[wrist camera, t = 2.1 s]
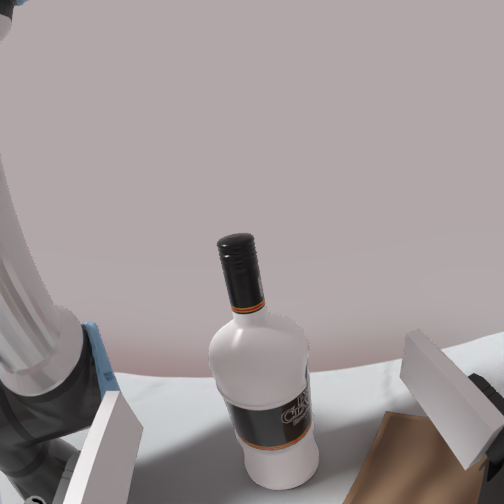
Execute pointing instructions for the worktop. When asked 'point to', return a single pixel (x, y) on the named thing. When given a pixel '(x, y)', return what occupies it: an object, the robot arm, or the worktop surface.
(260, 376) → the vodka
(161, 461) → the worktop surface
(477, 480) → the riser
